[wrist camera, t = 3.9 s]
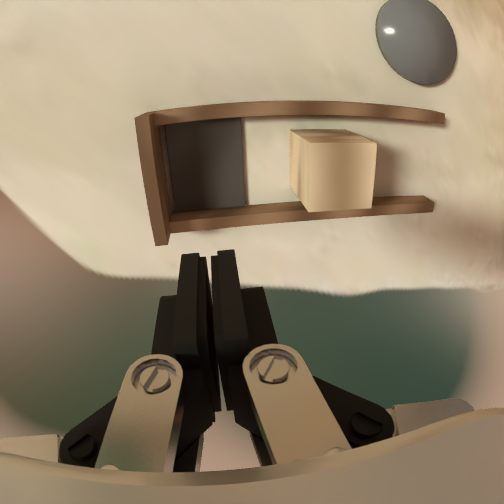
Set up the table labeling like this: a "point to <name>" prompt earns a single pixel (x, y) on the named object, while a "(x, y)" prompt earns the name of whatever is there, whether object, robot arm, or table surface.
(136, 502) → the robot arm
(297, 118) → the table surface
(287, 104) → the channel
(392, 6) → the coaster
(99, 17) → the table surface
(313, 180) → the block
